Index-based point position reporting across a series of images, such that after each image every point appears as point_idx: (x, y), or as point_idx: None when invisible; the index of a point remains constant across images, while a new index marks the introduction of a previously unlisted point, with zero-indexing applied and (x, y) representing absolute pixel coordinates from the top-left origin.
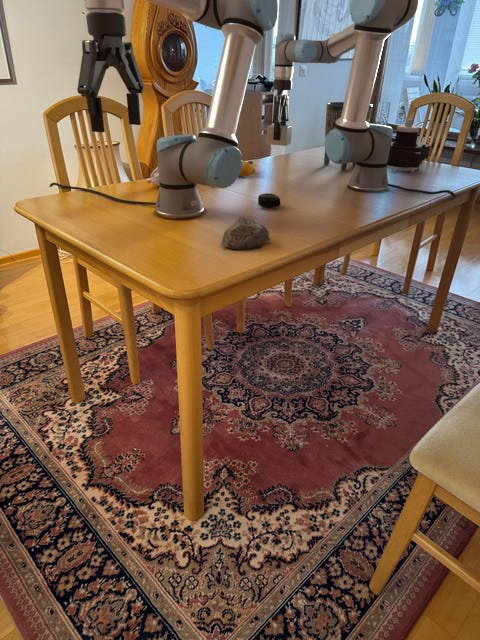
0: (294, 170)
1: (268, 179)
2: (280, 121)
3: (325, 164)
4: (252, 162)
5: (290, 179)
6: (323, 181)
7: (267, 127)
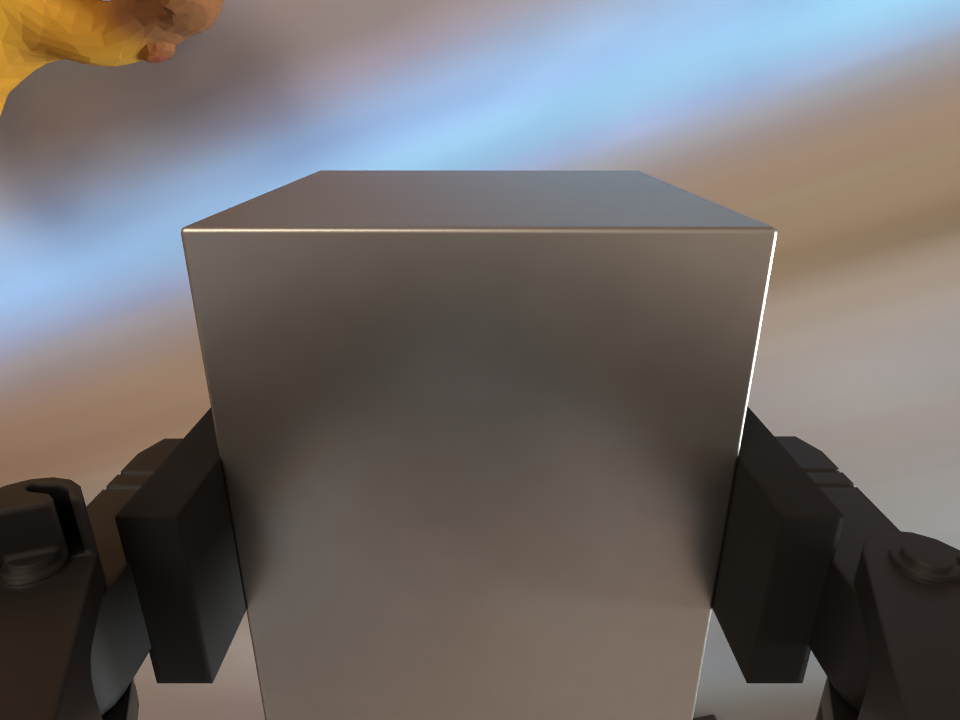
0: None
1: (47, 305)
2: (775, 534)
3: None
4: (165, 11)
5: None
6: None
7: (198, 228)
